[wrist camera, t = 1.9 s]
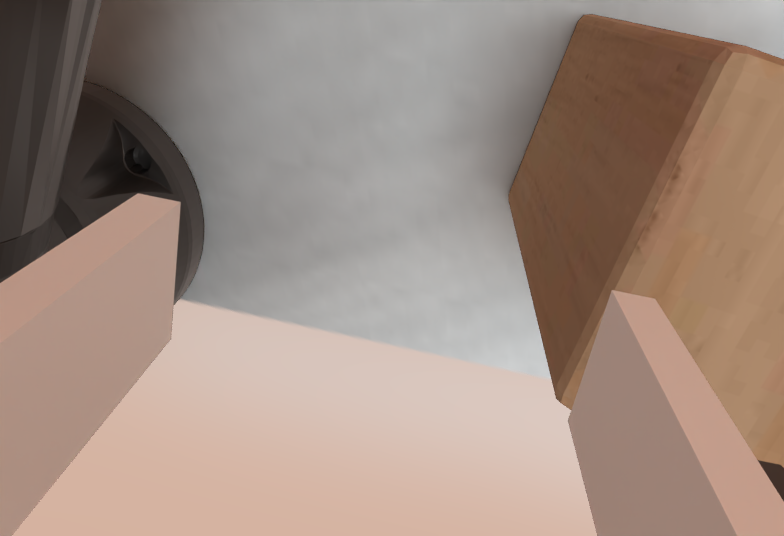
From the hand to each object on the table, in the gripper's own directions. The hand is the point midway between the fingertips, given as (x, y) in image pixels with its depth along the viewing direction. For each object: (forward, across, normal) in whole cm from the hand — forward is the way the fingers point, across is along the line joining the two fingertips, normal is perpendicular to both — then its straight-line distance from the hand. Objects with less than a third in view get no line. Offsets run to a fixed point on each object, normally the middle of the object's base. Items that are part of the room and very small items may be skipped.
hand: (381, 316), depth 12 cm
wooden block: (+25, +10, 0) cm, 27 cm away
